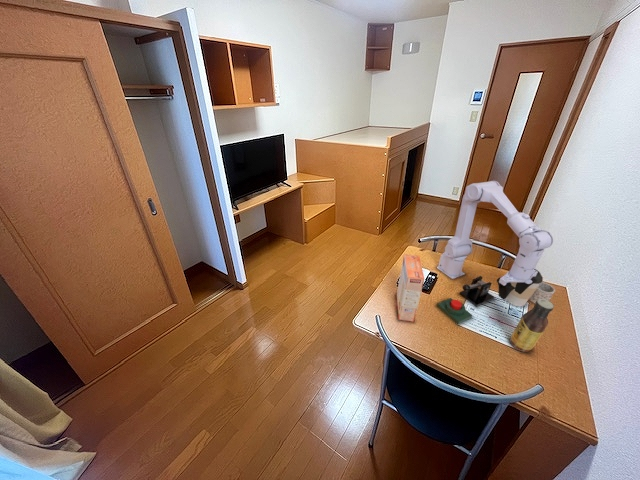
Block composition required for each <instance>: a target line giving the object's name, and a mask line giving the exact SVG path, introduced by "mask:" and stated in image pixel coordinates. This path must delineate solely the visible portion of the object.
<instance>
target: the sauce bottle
mask: <svg viewBox="0 0 640 480" xmlns="http://www.w3.org/2000/svg"><path fill="white" fill-rule="evenodd" d="M554 308H555V305H554V303H552V302H551V300H549V301H548V300H546V299H538V300H537V301H536V302H535V303H534V306H533V307H532V308H531V309H530V310H528V311H527V312H525V313H523V314H522V316H521V318H520V319H519V321H518V322H517V324H516V327H515V328H514V330H513V331H512V334H511V336H510V339H509V341H510V344H511V346H512V347H513V348H515V349H516V350H518V351H520V352H525V353H527V352H530V351H531V350H533V348H535V345H536V344H537V342H538V341H539V339H540V338H541V337H542V335H543V333H544V332H545V330H546V328H547V327H548V325H549V319H548V317H549V314H550V313H551V312H552V311H553V310H554Z"/></svg>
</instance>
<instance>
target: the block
mask: <svg viewBox="0 0 640 480" xmlns="http://www.w3.org/2000/svg"><path fill="white" fill-rule="evenodd" d="M452 300H454V299H453V298H452V297H450V298H447V299H445V300H442V301H440V302H439V303H437V304H436V307H437V308H438V309H439V311H441V312H442V313H443V314H444V315H446V316H447V317H448V318H449V319H451V321H453V322H454V323H455V324H456V325H460V324H462V323H464V322H467V321H468V320H470V319H472V318H473V314H472V313H470V311H468V310H467V309H466V306H465V304H464V303H462V306H461V309H460V310H455V309H453V308H452V307H451V306H450V304H451V301H452Z"/></svg>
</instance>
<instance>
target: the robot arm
mask: <svg viewBox="0 0 640 480" xmlns="http://www.w3.org/2000/svg"><path fill="white" fill-rule="evenodd" d="M483 202H484V203H491V204H492V205H494V207H496V208H497V209H498V210H499V211H500V212H501V213H502V214H503V215H504V216H505V217H506V218H507V221H506V225H508V226H509V227H510V229H511V230H512V231H513V232H514V234H515V235H516V236H517V237H518V238H519V239H518V244H519V247H518V252H517V254H516V256H515V258H514V261H513V263H512V265H511V267H510V269H509V270H508V271H507V272H506V273H505V274H504V275H503V276H501V277H497V279H496V283H497V286H498V297H499V298H500V299H502V300H506V299H505V298H506V297H507V296H508V295H509V293H510V292H511V291H512V290H514V289H515V291H516V292H517V293H519V294H522V293H523V292H524V291H525V290H526V289H527V288H528V287H529V286H530V285H532V284H534V283H536V282H537V280H536V279H535V278H533V277H535V276H536V275H537V273H538V272H537V271H536V270H537V269H536V268H537V265H538V263H539V261H540V260H541V258H542V255H543V254H544V251H545V250H546V249H549V248H551V246H552V245H553V243H554V237H553V236H552V234H551V232H550V231H549V230H546V229H542V228H541V227H539V226H538V225H537V224H536V223H535V222H534V221H533V220H532V219H531V216H530V215H529V214H527V213H525V212H520V211H518V210H517V208H516V207H515V206H514V204H513V203H512V202H511V201H510V199H509V198H508V197H507V195H506V194H505V193H504V186H502V185H501V184H500V182H498V181H497V180H490V181H484V182H475V183H474V182H473V183H471V184H468V185H467V186H466V187H465V191H464V194H463V196H462V198H461V205H460V208H459V214H458V219H457V224H456V228H455V232H454V236H453V237H451V238H450V239H449V240H447V243H446V245H445V247H444V252H442V254H441V255H440V256H439V260H438V265H437V266H436V269H438V270H439V271H440V272H441V273H443V274H445V275H446V276H447V277H448V278H450V279H451V280H454V279H457V278H459V277H462V276H464V275H465V274H466V273H465V272H464V271H462V270H463V267H464V264H465V261H466V259H467V258H468V256H470V255H472V254H473V243H474V241H473V240H472V239H471V238H470V235H471V231H472V228H473V224H474V219H475V215H476V211H477V207H478V206H477V205H478V204H479V203H483ZM534 269H536V270H534ZM511 282H517V284H516V286H515V287H514V286H512V284H511Z"/></svg>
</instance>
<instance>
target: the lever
mask: <svg viewBox="0 0 640 480" xmlns="http://www.w3.org/2000/svg"><path fill="white" fill-rule="evenodd" d="M486 283H487V282H486V281H484V280H483V279H482V280H481V281H477V283H476V284H473V285H471V284H467V283H466V284H463V285H462V291H469V290H470V289H472V288H479V289H481V286H482V285H484V284H486Z"/></svg>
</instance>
